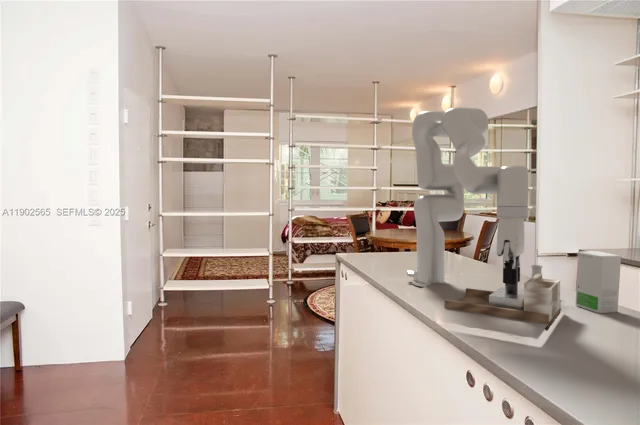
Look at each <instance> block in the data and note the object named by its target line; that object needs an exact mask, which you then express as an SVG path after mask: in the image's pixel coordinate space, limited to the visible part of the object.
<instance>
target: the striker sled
mask: <svg viewBox="0 0 640 425" xmlns="http://www.w3.org/2000/svg"><path fill="white" fill-rule="evenodd" d="M510 260H512V259H510ZM515 269H517V275H516V284H515V285H514V284H505V283H504V286H502V287H499V288H498V289H496V290H495V291H494V293H492V294H490V295H489V306H495V307H502V308H509V309H516V310H523V311H524V289H521V288H518V287H519V286H518V284H519V282H518V259H516V261H515Z"/></svg>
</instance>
